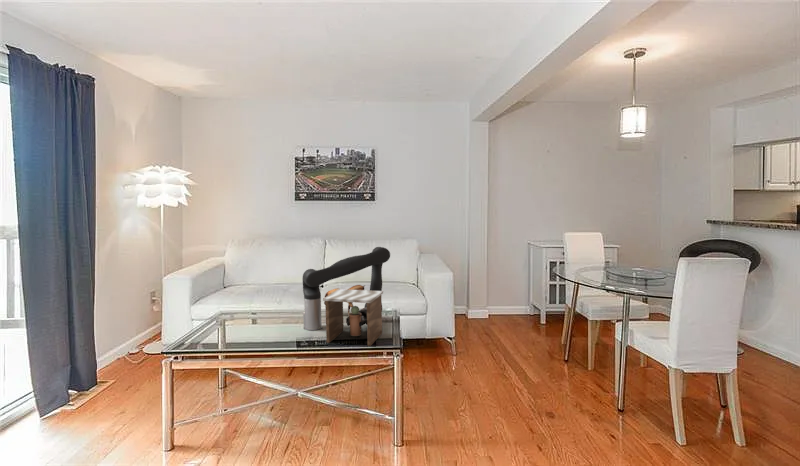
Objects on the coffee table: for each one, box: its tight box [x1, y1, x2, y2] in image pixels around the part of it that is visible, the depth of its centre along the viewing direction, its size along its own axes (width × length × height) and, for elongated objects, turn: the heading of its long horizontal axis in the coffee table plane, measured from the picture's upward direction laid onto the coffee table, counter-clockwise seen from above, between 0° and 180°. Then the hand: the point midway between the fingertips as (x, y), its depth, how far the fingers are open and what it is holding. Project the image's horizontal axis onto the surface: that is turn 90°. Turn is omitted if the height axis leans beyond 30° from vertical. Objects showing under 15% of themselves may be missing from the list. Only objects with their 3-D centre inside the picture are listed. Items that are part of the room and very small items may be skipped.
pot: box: [348, 305, 362, 337], centre depth 251 cm, size 7×7×15 cm
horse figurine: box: [323, 284, 366, 316], centre depth 291 cm, size 31×8×21 cm, turn 61°
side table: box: [322, 288, 384, 347], centre depth 249 cm, size 25×22×23 cm
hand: (353, 324), depth 249 cm, fingers closed on pot, 6 cm apart
